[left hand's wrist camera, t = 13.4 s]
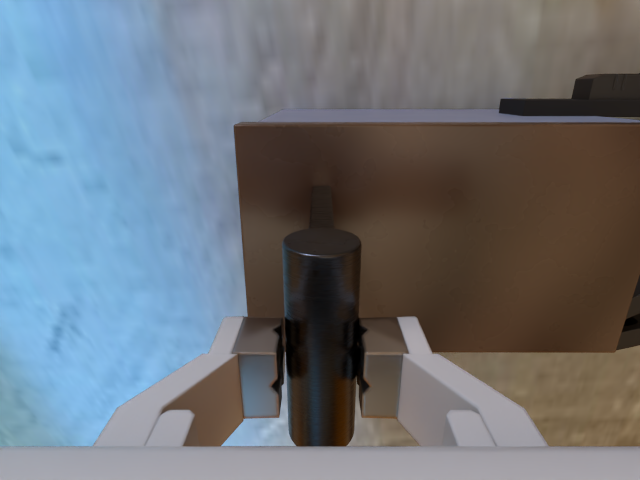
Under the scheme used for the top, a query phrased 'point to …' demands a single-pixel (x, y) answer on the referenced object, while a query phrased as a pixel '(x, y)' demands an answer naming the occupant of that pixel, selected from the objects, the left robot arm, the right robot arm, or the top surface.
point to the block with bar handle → (434, 242)
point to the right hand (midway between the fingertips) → (494, 208)
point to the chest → (421, 116)
